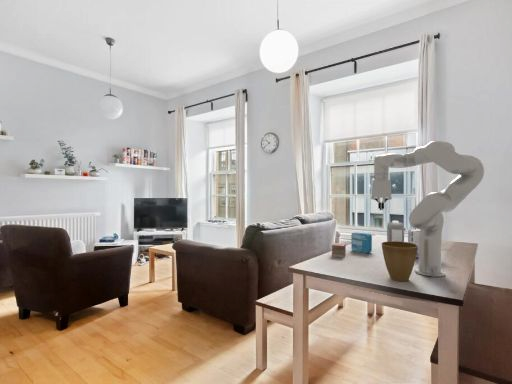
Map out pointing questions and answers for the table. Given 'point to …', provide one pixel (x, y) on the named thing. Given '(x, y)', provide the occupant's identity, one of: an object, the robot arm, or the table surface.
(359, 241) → the data package
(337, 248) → the beige cube
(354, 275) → the table surface
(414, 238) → the candy box
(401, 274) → the plant pot
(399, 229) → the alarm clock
